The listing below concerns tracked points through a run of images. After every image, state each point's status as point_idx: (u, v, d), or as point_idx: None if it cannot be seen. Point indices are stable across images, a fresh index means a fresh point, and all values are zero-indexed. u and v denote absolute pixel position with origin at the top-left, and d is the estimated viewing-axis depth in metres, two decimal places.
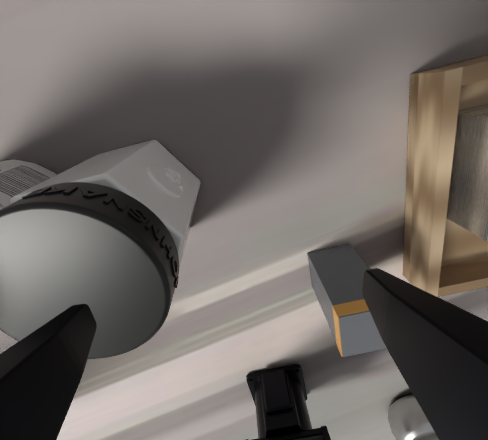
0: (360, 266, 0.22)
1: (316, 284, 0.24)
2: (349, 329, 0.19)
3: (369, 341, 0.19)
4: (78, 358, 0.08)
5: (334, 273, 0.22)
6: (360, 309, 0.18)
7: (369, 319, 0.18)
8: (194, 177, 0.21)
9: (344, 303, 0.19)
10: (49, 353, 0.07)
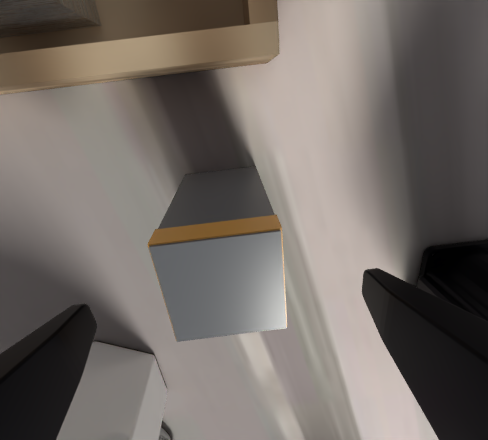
0: None
1: None
2: (209, 324, 0.10)
3: (255, 284, 0.09)
4: (78, 358, 0.08)
5: None
6: (168, 302, 0.09)
7: (185, 295, 0.09)
8: None
9: None
10: (49, 353, 0.07)
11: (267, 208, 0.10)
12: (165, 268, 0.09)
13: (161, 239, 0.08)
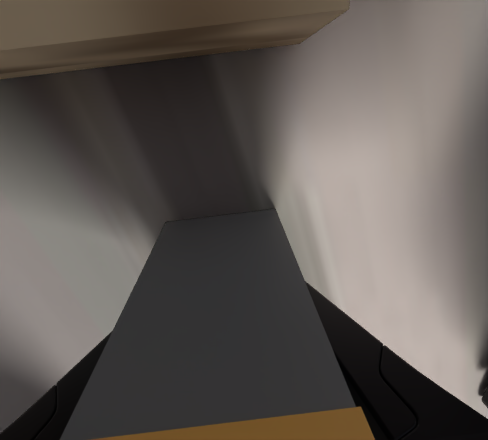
0: None
1: None
2: None
3: None
4: None
5: None
6: None
7: None
8: None
9: None
10: None
11: (327, 362, 0.04)
12: None
13: None
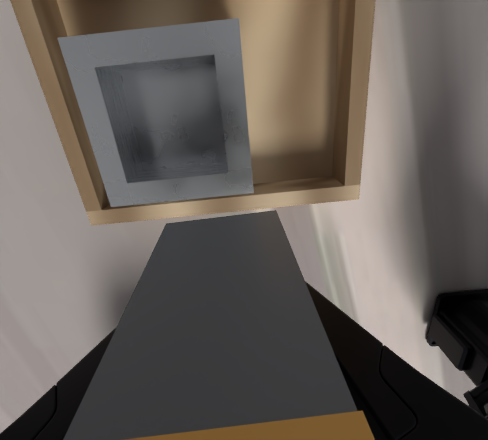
0: None
1: None
2: None
3: None
4: None
5: None
6: None
7: None
8: None
9: None
10: None
11: (328, 365, 0.04)
12: None
13: None
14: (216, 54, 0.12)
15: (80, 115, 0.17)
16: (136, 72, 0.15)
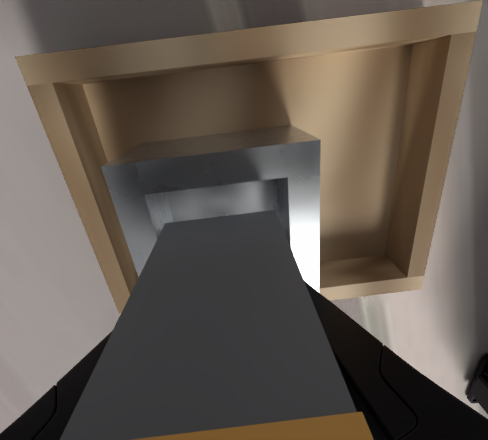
0: None
1: None
2: None
3: None
4: None
5: None
6: None
7: None
8: None
9: None
10: None
11: (327, 366, 0.04)
12: None
13: None
14: (290, 177, 0.10)
15: (112, 213, 0.14)
16: None
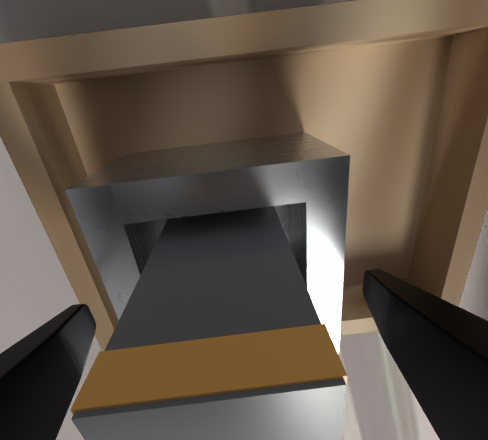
0: None
1: None
2: None
3: None
4: (77, 358, 0.08)
5: None
6: None
7: None
8: None
9: None
10: (48, 354, 0.07)
11: (303, 299, 0.06)
12: None
13: (102, 391, 0.04)
14: (309, 202, 0.08)
15: None
16: None
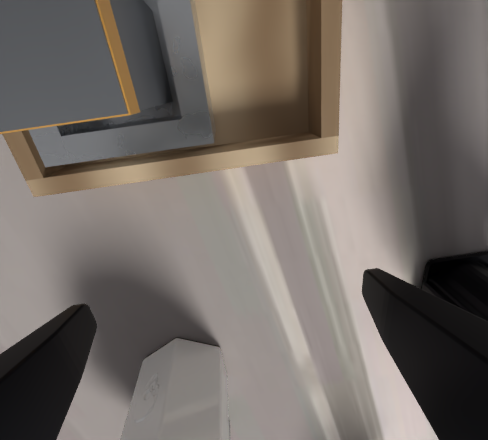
0: None
1: None
2: (17, 102, 0.07)
3: (64, 29, 0.07)
4: (78, 358, 0.08)
5: None
6: None
7: None
8: (170, 345, 0.26)
9: None
10: (49, 353, 0.07)
11: None
12: None
13: None
14: None
15: None
16: None
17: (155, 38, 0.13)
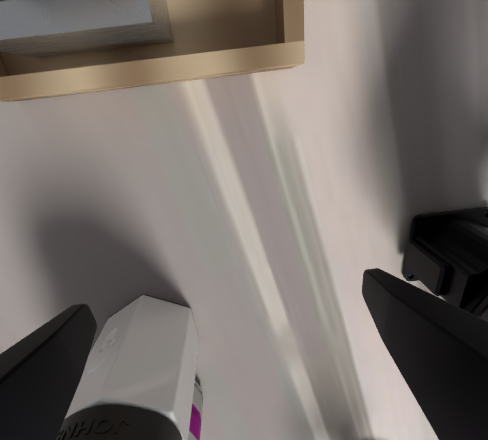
0: None
1: None
2: None
3: None
4: (78, 358, 0.08)
5: None
6: None
7: None
8: (135, 301, 0.24)
9: None
10: (49, 353, 0.07)
11: None
12: None
13: None
14: None
15: None
16: None
17: None
